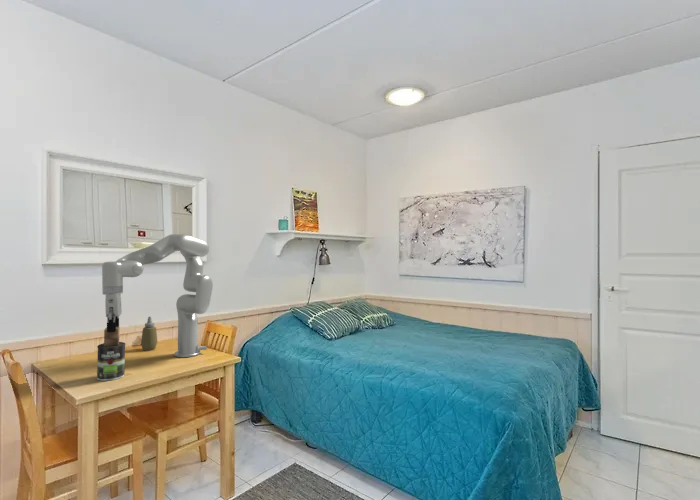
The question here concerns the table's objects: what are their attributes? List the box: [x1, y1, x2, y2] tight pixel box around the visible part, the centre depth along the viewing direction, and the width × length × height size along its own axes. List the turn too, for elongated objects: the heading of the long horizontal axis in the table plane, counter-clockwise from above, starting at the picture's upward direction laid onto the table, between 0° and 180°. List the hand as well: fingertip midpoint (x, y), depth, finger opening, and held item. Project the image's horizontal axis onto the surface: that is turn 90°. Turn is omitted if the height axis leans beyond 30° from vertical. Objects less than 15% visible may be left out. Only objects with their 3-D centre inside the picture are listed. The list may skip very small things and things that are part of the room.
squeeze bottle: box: [140, 316, 158, 352], centre depth 211 cm, size 8×8×18 cm
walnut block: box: [103, 326, 120, 346], centre depth 166 cm, size 5×5×7 cm
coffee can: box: [96, 341, 126, 382], centre depth 166 cm, size 10×10×14 cm
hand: (113, 329), depth 166 cm, fingers open, 9 cm apart
